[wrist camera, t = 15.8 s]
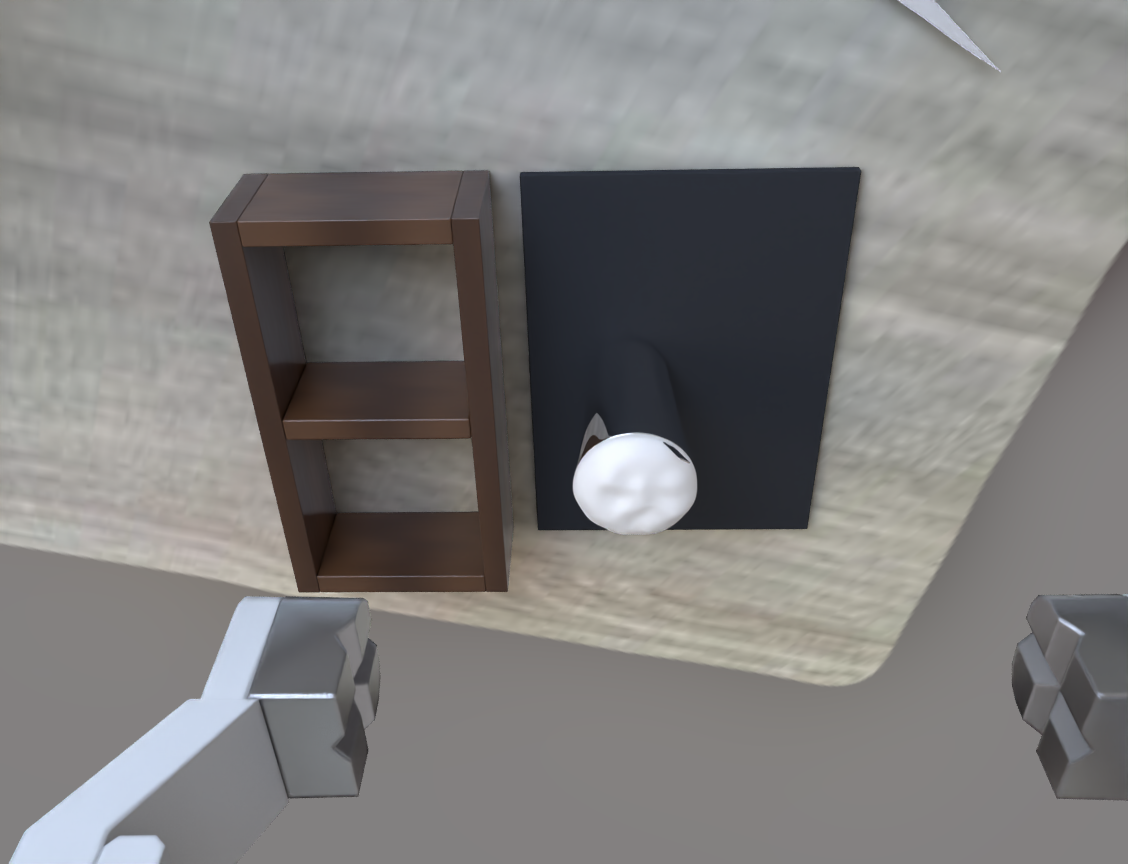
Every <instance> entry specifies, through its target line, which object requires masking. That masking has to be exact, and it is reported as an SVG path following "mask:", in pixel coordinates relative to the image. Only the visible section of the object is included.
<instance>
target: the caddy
mask: <svg viewBox="0 0 1128 864" xmlns="http://www.w3.org/2000/svg"><path fill="white" fill-rule="evenodd" d="M209 224H210V228H211V232H212V236H213V240H214V244H215V248H216V252H217V257H218V261H219V265H220V269H221V273H222V277H223V281H224V286H225V290H226V294H227V298H228V302H229V306H230V310H231V314H232V319H233V323H234V327H235V331H236V335H237V339H238V343H239V348H240V352H241V356H242V360H243V364H244V368H245V372H246V376H247V381H248V385H249V389H250V393H251V397H252V401H253V405H254V410H255V414H256V418H257V422H258V426H259V430H260V434H261V438H262V443H263V447H264V451H265V455H266V459H267V463H268V467H269V472H270V476H271V480H272V484H273V488H274V492H275V496H276V500H277V505H278V509H279V513H280V517H281V521H282V525H283V529H284V533H285V538H286V542H287V546H288V550H289V554H290V558H291V562H292V567H293V571H294V575H295V579H296V583H297V587H298V591H299V592H485V591H486V592H508V585H509V574H510V563H511V552H512V541H513V530H514V523H513V509H512V494H511V480H510V465H509V451H508V436H507V422H506V407H505V393H504V378H503V364H502V349H501V335H500V320H499V306H498V291H497V277H496V262H495V248H494V233H493V219H492V204H491V190H490V175H489V171H488V170H481V171H464V172H463V171H418V172H353V173H288V174H269V175H268V174H244V175H243V176H242V177H241V179H240V180H239V181H238V183H237V184H236V186H235V187H234V188H233V190H232V191H231V192H230V194H229V195H228V197H227V198H226V199H225V201H224V202H223V204H222V205H221V206H220V208H219V209H218V211H217V212H216V213H215V215H214V216H213V217H212V219H211V220H210V222H209ZM420 244H453V246H454V256H455V267H456V277H457V288H458V299H459V309H460V320H461V330H462V341H463V352H464V361H415V362H313V363H307V364H306V359H305V354H304V349H303V344H302V339H301V334H300V329H299V324H298V319H297V314H296V309H295V304H294V299H293V294H292V289H291V284H290V279H289V274H288V269H287V264H286V259H285V254H284V249H283V246H345V245H420ZM471 437H472V447H473V458H474V468H475V479H476V490H477V500H478V511H479V512H393V513H337V514H336V509H335V504H334V499H333V494H332V489H331V484H330V479H329V474H328V469H327V464H326V459H325V454H324V449H323V444H322V440H327V439H460V438H471Z"/></svg>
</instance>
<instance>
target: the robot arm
mask: <svg viewBox="0 0 1128 864" xmlns="http://www.w3.org/2000/svg"><path fill="white" fill-rule="evenodd" d="M1026 619H1027V621H1028V623H1029V625H1030V627H1031V630H1032V633H1031V634H1030V635H1028V636H1027V637H1026V638H1024V639H1023V640H1022V641H1020V642H1019V643H1018V644H1017V647H1016V650H1015V654H1014V658H1013V661H1012V687H1013V692H1014V696H1015V700H1016V704H1017V706H1018V709H1019V711H1020V714H1021V716H1022V719H1023V720H1024V721H1025V722H1026V723H1027V724H1029V725H1030V726H1031V727H1033V728H1034V729H1035V730H1036V731H1038V732H1039V733H1040V734H1041V735H1042V736H1041V739H1040V742H1039V745H1038V748H1037V750H1036V752H1037V754H1038V756H1039V759H1040V761H1041V763H1042V766H1043V768H1044V770H1045V772H1046V775H1047V777H1048V779H1049V782H1050V784H1051V786H1052V789H1053V791H1054V793H1055V795H1056V798H1057V799H1060V798H1061V799H1093V800H1094V799H1095V800H1126V801H1128V594H1123V595H1120V594H1086V595H1085V594H1084V595H1083V594H1081V595H1038V596H1037V597H1036V599H1034V601H1033V602H1032V603H1031V605H1030V608H1029V611H1028V614H1027V616H1026ZM371 621H372V618H371V614H370V609H369V605H368V601H367V600H366V599H364V598H338V597H290V596H286V597H253V596H246V597H245V598H244V599H243V600H242V601H241V602H240V603H239V604H238V605H237V607H236V609H235V612H234V614H233V617H232V620H231V622H230V625H229V627H228V630H227V632H226V635H225V638H224V640H223V642H222V645H221V648H220V650H219V653H218V655H217V658H216V660H215V663H214V666H213V668H212V670H211V673H210V676H209V678H208V681H207V683H206V686H205V688H204V691H203V693H202V696H201V698H200V699H188V700H187V701H186V702H184V703H183V704H182V705H181V706H179V707H178V708H177V709H176V710H174V711H173V712H172V713H171V714H170V715H168V716H167V717H166V718H164V719H163V720H162V721H161V722H160V723H158V724H157V725H156V726H155V727H153V728H152V729H151V730H150V731H148V732H147V733H146V734H145V735H143V736H142V737H141V738H140V739H138V740H137V741H136V742H135V743H134V744H132V745H131V746H130V747H129V748H127V749H126V750H125V751H124V752H122V753H121V754H120V755H119V756H117V757H116V758H115V759H114V760H112V761H111V762H110V763H109V764H108V765H106V766H105V767H104V768H103V769H101V770H100V771H99V772H98V773H96V774H95V775H94V776H93V777H92V778H90V779H89V780H88V781H86V782H85V783H84V784H83V785H82V786H80V787H79V788H78V789H77V790H75V791H74V792H73V793H72V794H70V795H69V796H68V797H67V798H66V799H64V800H63V801H62V802H61V803H59V804H58V805H57V806H56V807H54V808H53V809H52V810H51V811H49V812H48V813H47V814H46V815H44V816H43V817H42V818H41V819H40V820H38V821H37V822H36V823H35V824H33V825H32V826H31V827H30V828H28V829H27V830H26V831H25V832H24V834H23V836H22V838H21V840H20V842H19V844H18V846H17V848H16V850H15V852H14V854H13V856H12V858H11V860H10V862H9V864H236V863H237V862H238V861H239V860H240V859H241V858H242V856H243V855H244V854H245V853H246V852H247V851H248V849H249V848H250V847H251V846H252V845H253V844H254V842H255V841H256V840H257V839H258V838H259V837H260V836H261V834H262V833H263V832H264V831H265V830H266V829H267V827H268V826H269V825H270V824H271V823H272V822H273V820H274V819H275V818H276V817H277V816H278V815H279V814H280V812H281V811H282V810H283V809H284V808H285V807H286V805H287V804H288V803H289V800H288V798H320V797H321V798H323V797H358V795H359V791H360V786H361V782H362V777H363V773H364V768H365V764H366V759H367V754H368V746H367V741H366V736H365V731H364V730H365V729H366V728H367V727H368V726H369V725H370V724H371V723H372V722H373V721H374V720H375V716H376V711H377V706H378V700H379V688H380V664H379V655H378V649H377V645H376V644H375V643H374V642H372V641H371V640H370V639H369V638H368V635H369V631H370V626H371Z"/></svg>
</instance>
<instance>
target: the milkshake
mask: <svg viewBox="0 0 1128 864" xmlns="http://www.w3.org/2000/svg"><path fill="white" fill-rule="evenodd" d="M573 493H574V496H575V499H576V501H577V503H578V504H579V506H580V508H581V509H582V511H583V512H584V514H585V515H586V516H587V517H588V518H589V519H590V520H591V521H592V522H594V523H595V524H597V525H599V526H601V527H603V528H605V529H608V530H610V531H612V532H614V533H617V534H621V535H641V534H655V533H659V532H662V531H664V530H666V529H668V528H670V527H671V526H673V525H674V524H675V523H676V522H678V521H679V520H680V519H681V518H682V517H683V516H684V515H685V514H686V513H687V512H688V511H689V509H690V508H691V506H692V505H693V503H694V501H695V498H696V494H697V476H696V471H695V468H694V465H693V462H692V458H691V455H690V452H689V449H688V445H687V442H686V439H685V436H684V432H683V429H682V426H681V422H680V418H679V414H678V410H677V406H676V402H675V398H674V394H673V390H672V387H671V383H670V379H669V375H668V371H667V367H666V363H665V359H664V357H663V356H662V355H661V354H660V353H659V352H658V351H657V350H656V349H655V348H654V347H653V346H652V345H651V344H650V343H649V342H647V341H641V340H636V339H630V338H623V339H620V340H618V341H615V342H612V343H610V344H607V345H604V346H603V347H602V349H601V350H600V352H599V353H598V354H597V356H596V357H595V359H594V360H593V362H592V363H591V367H590V374H589V382H588V390H587V398H586V405H585V413H584V421H583V429H582V436H581V442H580V447H579V453H578V458H577V464H576V470H575V474H574V479H573Z"/></svg>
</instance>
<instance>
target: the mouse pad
mask: <svg viewBox="0 0 1128 864" xmlns="http://www.w3.org/2000/svg"><path fill="white" fill-rule="evenodd" d="M860 175H861V170H860V168H859V167H838V168H773V169H708V170H643V171H578V172H521V173H520V187H521V207H522V227H523V246H524V266H525V286H526V305H527V325H528V344H529V364H530V384H531V403H532V423H533V442H534V462H535V482H536V501H537V521H538V530H608V529H605V528H603V527H601V526H599V525H597V524H595V523H594V522H592V521H591V520H590V519H589V518H588V517H587V516H586V515H585V514H584V512H583V511H582V509H581V508H580V506H579V504H578V503H577V501H576V499H575V496H574V493H573V479H574V474H575V470H576V464H577V458H578V453H579V447H580V442H581V436H582V429H583V421H584V413H585V405H586V398H587V390H588V382H589V374H590V367H591V363H592V362H593V360H594V359H595V357H596V356H597V354H598V353H599V352H600V350H601V349H602V347H603V346H604V345H607V344H610V343H612V342H615V341H618V340H620V339H623V338H630V339H636V340H641V341H647V342H649V343H650V344H651V345H652V346H653V347H654V348H655V349H656V350H657V351H658V352H659V353H660V354H661V355H662V356H663V357H664V359H665V363H666V367H667V371H668V375H669V379H670V383H671V387H672V390H673V394H674V398H675V402H676V406H677V410H678V414H679V418H680V422H681V426H682V429H683V432H684V436H685V439H686V442H687V445H688V449H689V452H690V455H691V458H692V462H693V465H694V468H695V471H696V476H697V494H696V498H695V501H694V503H693V505H692V506H691V508H690V509H689V511H688V512H687V513H686V514H685V515H684V516H683V517H682V518H681V519H680V520H679V521H678V522H676V523H675V524H674V525H673V526H671V527H670V528H668V529H666V530H693V529H807V526H808V520H809V513H810V506H811V500H812V493H813V486H814V480H815V473H816V467H817V460H818V453H819V447H820V440H821V433H822V427H823V420H824V414H825V407H826V400H827V394H828V387H829V380H830V374H831V367H832V361H833V354H834V347H835V341H836V334H837V328H838V321H839V314H840V308H841V301H842V294H843V288H844V281H845V275H846V268H847V261H848V255H849V248H850V241H851V235H852V228H853V222H854V215H855V208H856V202H857V195H858V188H859V182H860Z"/></svg>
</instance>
